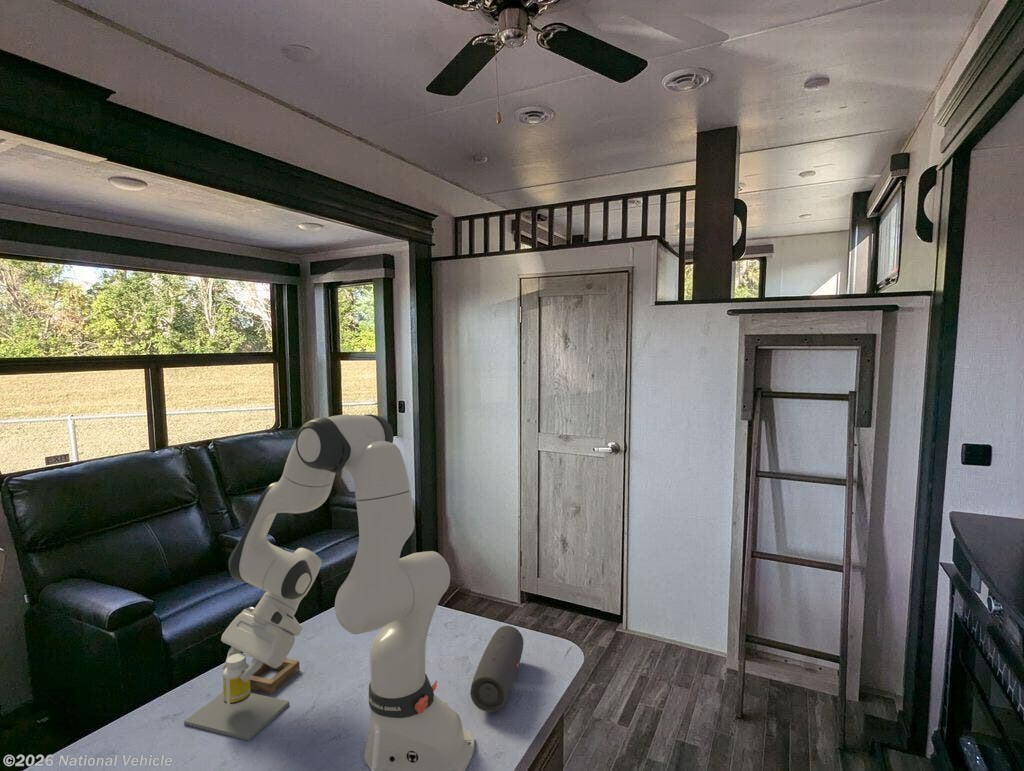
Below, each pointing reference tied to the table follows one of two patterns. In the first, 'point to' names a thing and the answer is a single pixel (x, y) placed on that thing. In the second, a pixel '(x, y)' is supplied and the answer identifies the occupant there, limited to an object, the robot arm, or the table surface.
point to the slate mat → (237, 716)
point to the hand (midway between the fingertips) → (233, 675)
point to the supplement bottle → (235, 681)
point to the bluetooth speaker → (497, 669)
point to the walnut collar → (271, 685)
